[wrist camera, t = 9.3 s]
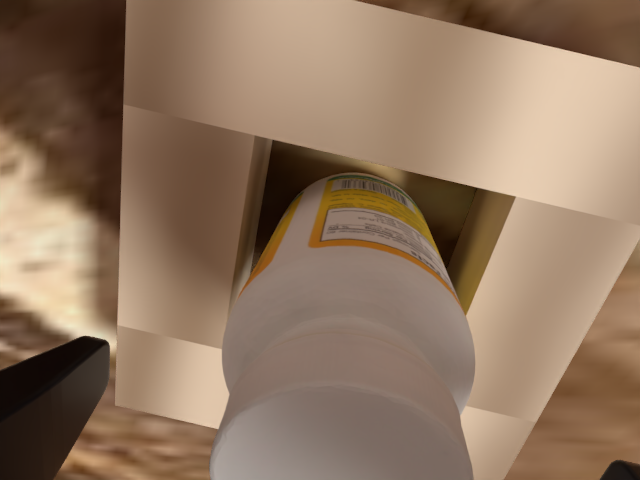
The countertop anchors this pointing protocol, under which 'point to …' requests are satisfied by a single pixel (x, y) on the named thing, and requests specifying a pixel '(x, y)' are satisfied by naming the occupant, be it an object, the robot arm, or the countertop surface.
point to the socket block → (380, 148)
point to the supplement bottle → (346, 347)
